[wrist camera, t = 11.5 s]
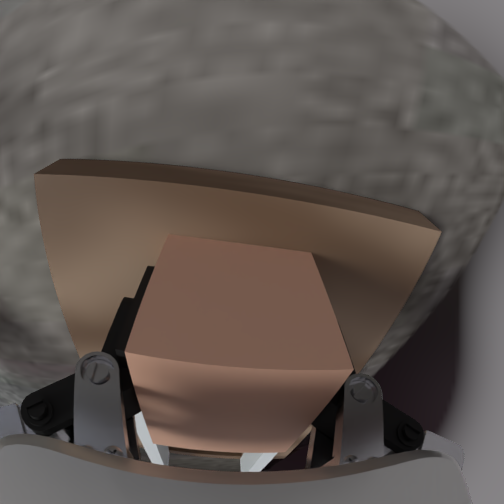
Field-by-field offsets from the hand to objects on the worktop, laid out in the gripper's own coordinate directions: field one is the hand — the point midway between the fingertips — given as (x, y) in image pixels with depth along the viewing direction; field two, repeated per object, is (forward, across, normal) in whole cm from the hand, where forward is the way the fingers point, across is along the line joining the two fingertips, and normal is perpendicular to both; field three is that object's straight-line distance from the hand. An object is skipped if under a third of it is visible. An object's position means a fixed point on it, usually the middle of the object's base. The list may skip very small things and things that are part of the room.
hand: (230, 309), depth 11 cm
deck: (+2, 0, +8) cm, 9 cm away
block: (0, 0, 0) cm, 1 cm away
